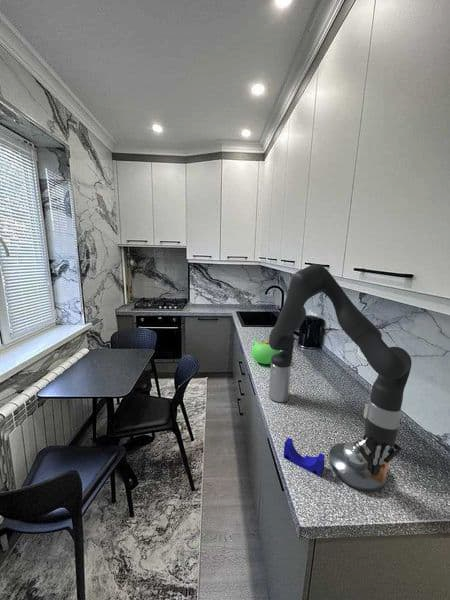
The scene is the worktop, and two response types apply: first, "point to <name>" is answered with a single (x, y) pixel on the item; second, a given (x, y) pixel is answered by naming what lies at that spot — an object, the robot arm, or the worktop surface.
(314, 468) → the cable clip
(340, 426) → the worktop surface
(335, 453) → the grey pot lid
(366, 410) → the grey stand with block
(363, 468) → the cover
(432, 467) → the worktop surface
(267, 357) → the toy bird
